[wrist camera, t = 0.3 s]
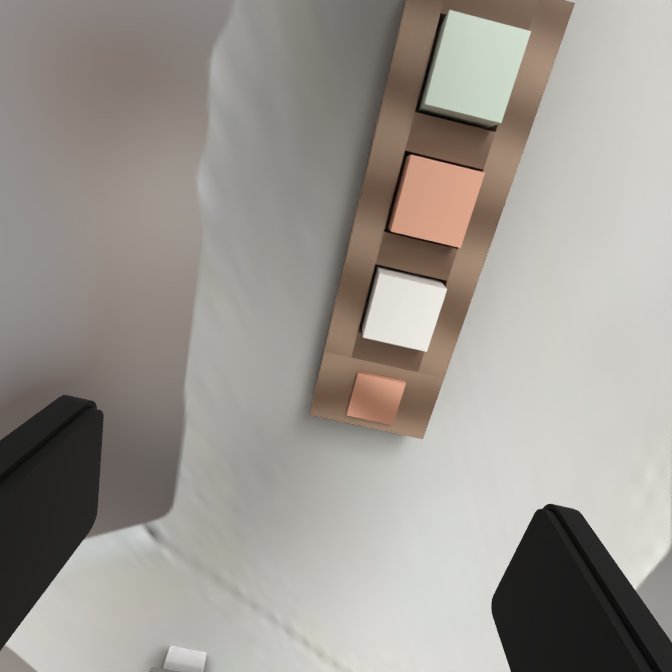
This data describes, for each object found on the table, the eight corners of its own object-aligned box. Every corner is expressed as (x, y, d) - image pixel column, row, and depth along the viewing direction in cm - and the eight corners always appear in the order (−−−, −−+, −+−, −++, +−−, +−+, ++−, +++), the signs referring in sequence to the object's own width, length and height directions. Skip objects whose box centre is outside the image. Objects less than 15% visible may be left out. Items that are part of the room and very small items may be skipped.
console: (408, -12, 29) (417, -44, 25) (546, 25, 30) (578, 0, 26) (313, 392, 40) (309, 417, 36) (416, 415, 41) (423, 442, 37)
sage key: (439, 27, 28) (449, 9, 25) (512, 46, 28) (531, 31, 25) (417, 111, 30) (424, 103, 27) (486, 128, 30) (501, 123, 27)
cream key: (377, 265, 34) (379, 273, 31) (438, 279, 34) (447, 289, 31) (361, 323, 35) (362, 337, 32) (420, 337, 35) (426, 351, 32)
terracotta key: (405, 156, 31) (411, 154, 28) (472, 173, 31) (485, 172, 28) (387, 226, 32) (390, 231, 30) (450, 241, 33) (460, 248, 30)
